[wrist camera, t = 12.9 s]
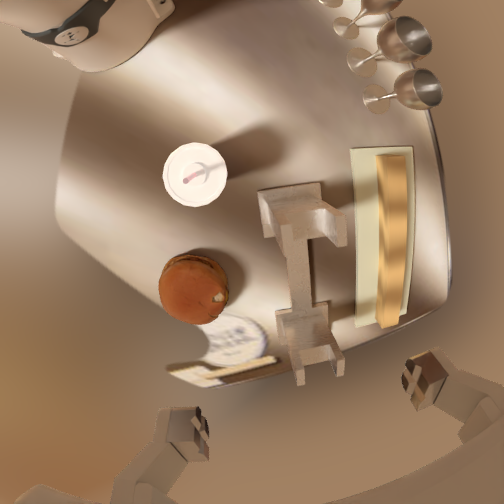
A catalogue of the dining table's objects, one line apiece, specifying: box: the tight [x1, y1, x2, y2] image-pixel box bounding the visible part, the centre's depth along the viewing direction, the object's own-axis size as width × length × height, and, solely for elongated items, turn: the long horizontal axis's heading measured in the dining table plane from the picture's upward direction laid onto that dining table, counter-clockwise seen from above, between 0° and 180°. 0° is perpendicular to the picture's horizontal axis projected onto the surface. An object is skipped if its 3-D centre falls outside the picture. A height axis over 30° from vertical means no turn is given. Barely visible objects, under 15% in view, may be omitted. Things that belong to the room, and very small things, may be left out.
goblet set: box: [319, 0, 443, 114], centre depth 21 cm, size 28×6×13 cm, turn 21°
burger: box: [159, 255, 229, 325], centre depth 37 cm, size 10×9×5 cm
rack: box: [257, 182, 347, 386], centre depth 34 cm, size 24×8×12 cm, turn 9°
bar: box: [375, 155, 407, 328], centre depth 36 cm, size 26×3×3 cm, turn 9°
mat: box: [350, 147, 415, 328], centre depth 38 cm, size 28×10×1 cm, turn 9°
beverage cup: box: [163, 143, 227, 207], centre depth 27 cm, size 6×6×14 cm
